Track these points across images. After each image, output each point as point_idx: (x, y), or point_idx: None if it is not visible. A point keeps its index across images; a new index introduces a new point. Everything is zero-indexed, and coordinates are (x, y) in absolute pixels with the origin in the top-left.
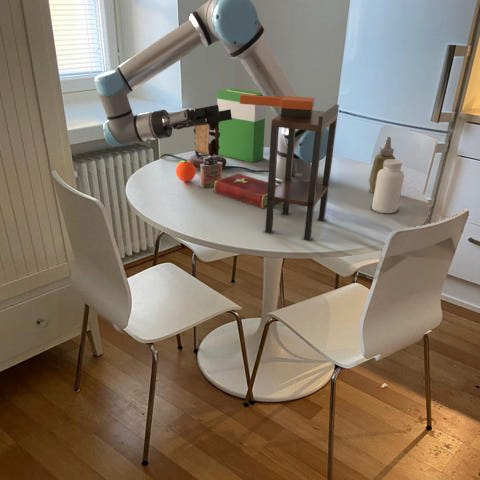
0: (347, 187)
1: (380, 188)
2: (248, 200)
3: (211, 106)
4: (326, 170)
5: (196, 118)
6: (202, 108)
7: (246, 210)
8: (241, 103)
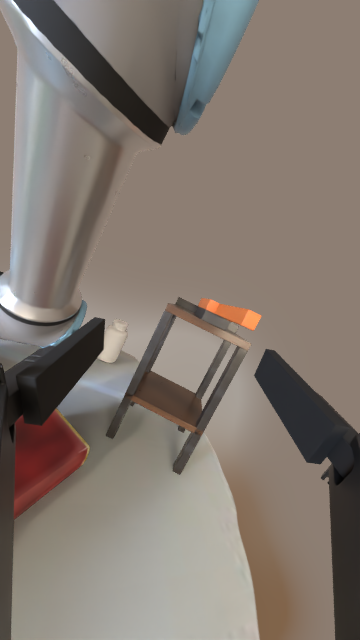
0: (28, 348)
1: (119, 345)
2: (43, 494)
3: (285, 364)
4: (156, 357)
5: (321, 457)
6: (311, 392)
7: (83, 508)
8: (252, 329)
